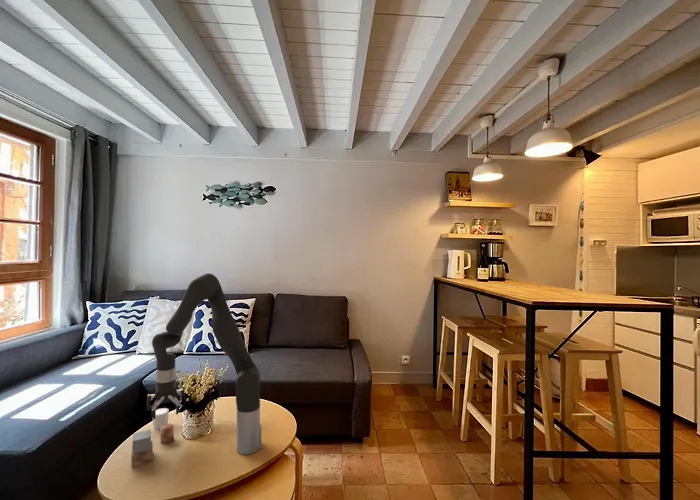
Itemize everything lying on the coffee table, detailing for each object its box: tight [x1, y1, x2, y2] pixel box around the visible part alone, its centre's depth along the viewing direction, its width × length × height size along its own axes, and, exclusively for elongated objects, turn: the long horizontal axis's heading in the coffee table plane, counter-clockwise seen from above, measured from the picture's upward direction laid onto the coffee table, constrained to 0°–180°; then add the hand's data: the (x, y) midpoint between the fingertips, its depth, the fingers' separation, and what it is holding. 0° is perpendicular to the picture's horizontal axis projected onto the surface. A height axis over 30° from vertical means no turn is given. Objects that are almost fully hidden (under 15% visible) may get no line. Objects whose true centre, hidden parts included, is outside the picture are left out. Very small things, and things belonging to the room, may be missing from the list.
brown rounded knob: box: [159, 423, 175, 445], centre depth 153 cm, size 5×5×6 cm
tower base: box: [130, 440, 154, 468], centre depth 140 cm, size 7×7×5 cm
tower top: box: [132, 429, 152, 454], centre depth 139 cm, size 6×6×5 cm
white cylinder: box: [152, 407, 170, 431], centre depth 164 cm, size 7×7×7 cm
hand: (165, 416), depth 152 cm, fingers open, 8 cm apart
